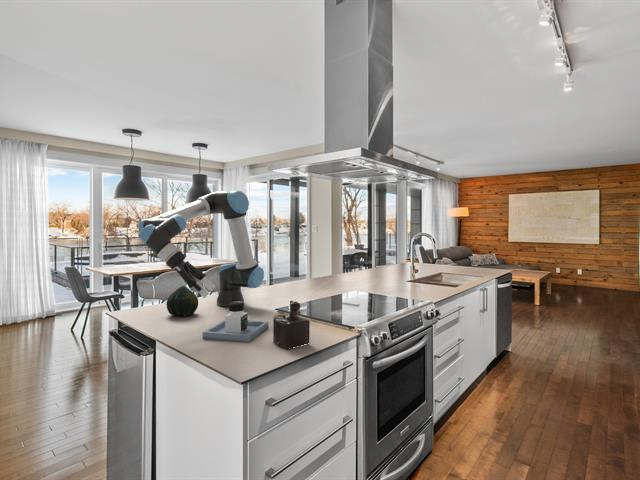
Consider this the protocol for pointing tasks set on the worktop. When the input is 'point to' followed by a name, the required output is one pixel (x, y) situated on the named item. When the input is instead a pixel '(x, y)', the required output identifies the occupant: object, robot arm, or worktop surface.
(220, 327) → the tray
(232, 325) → the medicine bottle
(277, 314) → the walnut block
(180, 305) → the squash
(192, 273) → the robot arm
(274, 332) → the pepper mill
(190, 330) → the worktop surface
